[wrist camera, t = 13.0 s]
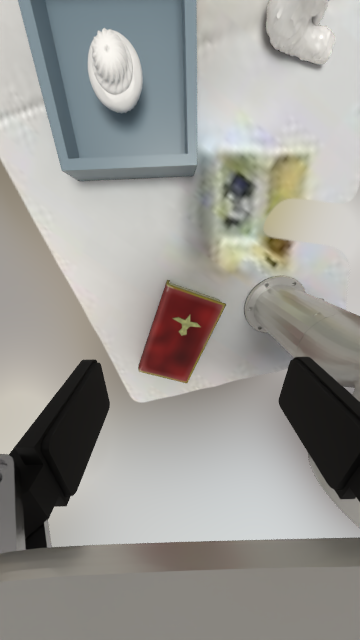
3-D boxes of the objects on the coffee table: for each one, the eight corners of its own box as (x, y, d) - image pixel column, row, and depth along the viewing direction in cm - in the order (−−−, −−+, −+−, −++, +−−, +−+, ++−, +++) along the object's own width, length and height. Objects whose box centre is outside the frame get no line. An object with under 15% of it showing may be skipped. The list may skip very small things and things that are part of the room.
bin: (190, -15, 21) (195, -83, 17) (193, 175, 29) (197, 164, 24) (35, -12, 21) (-3, -80, 16) (79, 180, 29) (61, 170, 24)
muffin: (90, 72, 23) (59, 11, 17) (134, 51, 23) (120, -21, 16) (112, 134, 26) (93, 101, 19) (153, 117, 25) (147, 76, 19)
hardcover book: (140, 360, 44) (137, 371, 40) (167, 279, 36) (166, 284, 32) (185, 371, 46) (187, 384, 43) (220, 297, 38) (226, 304, 34)
